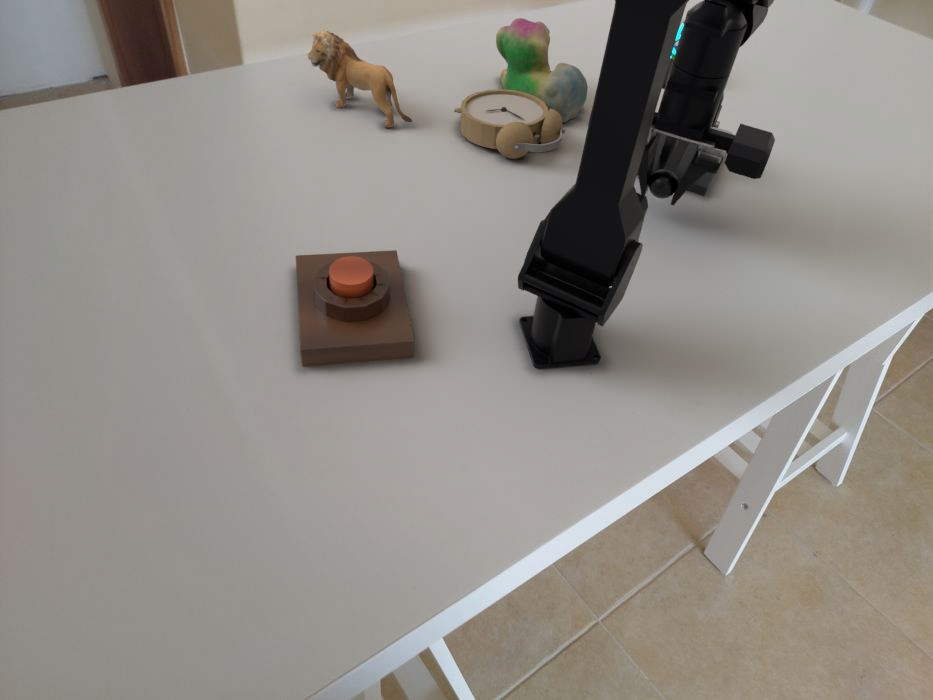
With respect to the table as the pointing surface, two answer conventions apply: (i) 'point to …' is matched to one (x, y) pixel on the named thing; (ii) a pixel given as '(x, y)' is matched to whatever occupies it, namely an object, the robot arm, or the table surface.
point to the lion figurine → (354, 73)
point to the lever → (668, 174)
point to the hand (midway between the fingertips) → (658, 198)
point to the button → (351, 277)
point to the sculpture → (539, 68)
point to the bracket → (682, 160)
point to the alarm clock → (510, 122)
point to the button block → (352, 313)
